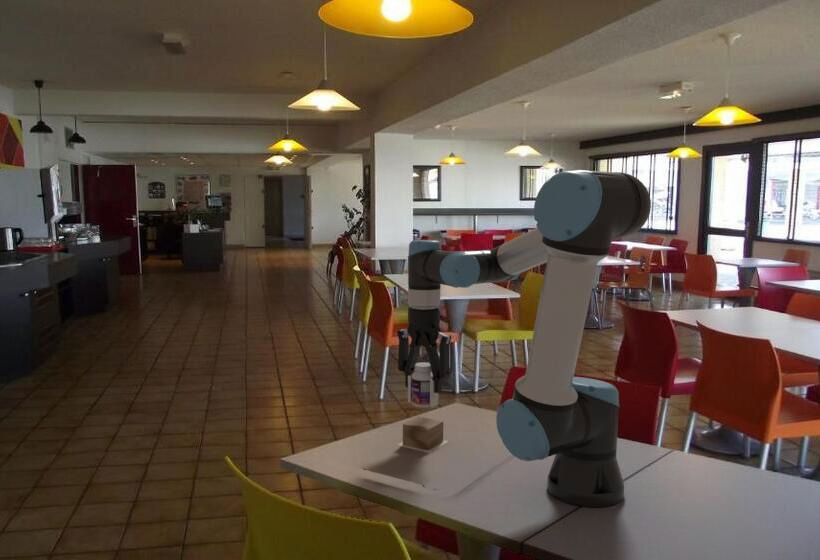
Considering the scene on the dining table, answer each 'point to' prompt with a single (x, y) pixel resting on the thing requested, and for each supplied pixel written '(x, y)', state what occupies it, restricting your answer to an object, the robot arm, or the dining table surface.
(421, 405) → the pill bottle
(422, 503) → the dining table surface
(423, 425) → the walnut block
